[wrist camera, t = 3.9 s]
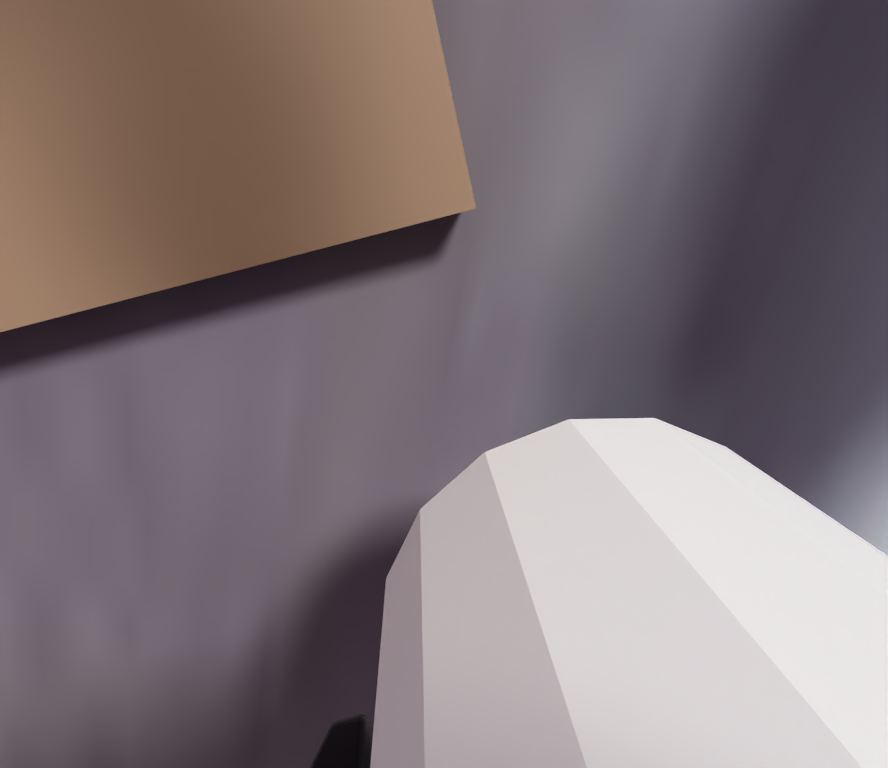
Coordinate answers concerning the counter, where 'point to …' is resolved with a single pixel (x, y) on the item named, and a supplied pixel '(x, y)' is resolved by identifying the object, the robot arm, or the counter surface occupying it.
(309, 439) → the counter surface
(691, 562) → the shot glass
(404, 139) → the pin plate
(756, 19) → the counter surface
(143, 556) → the counter surface
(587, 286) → the counter surface
